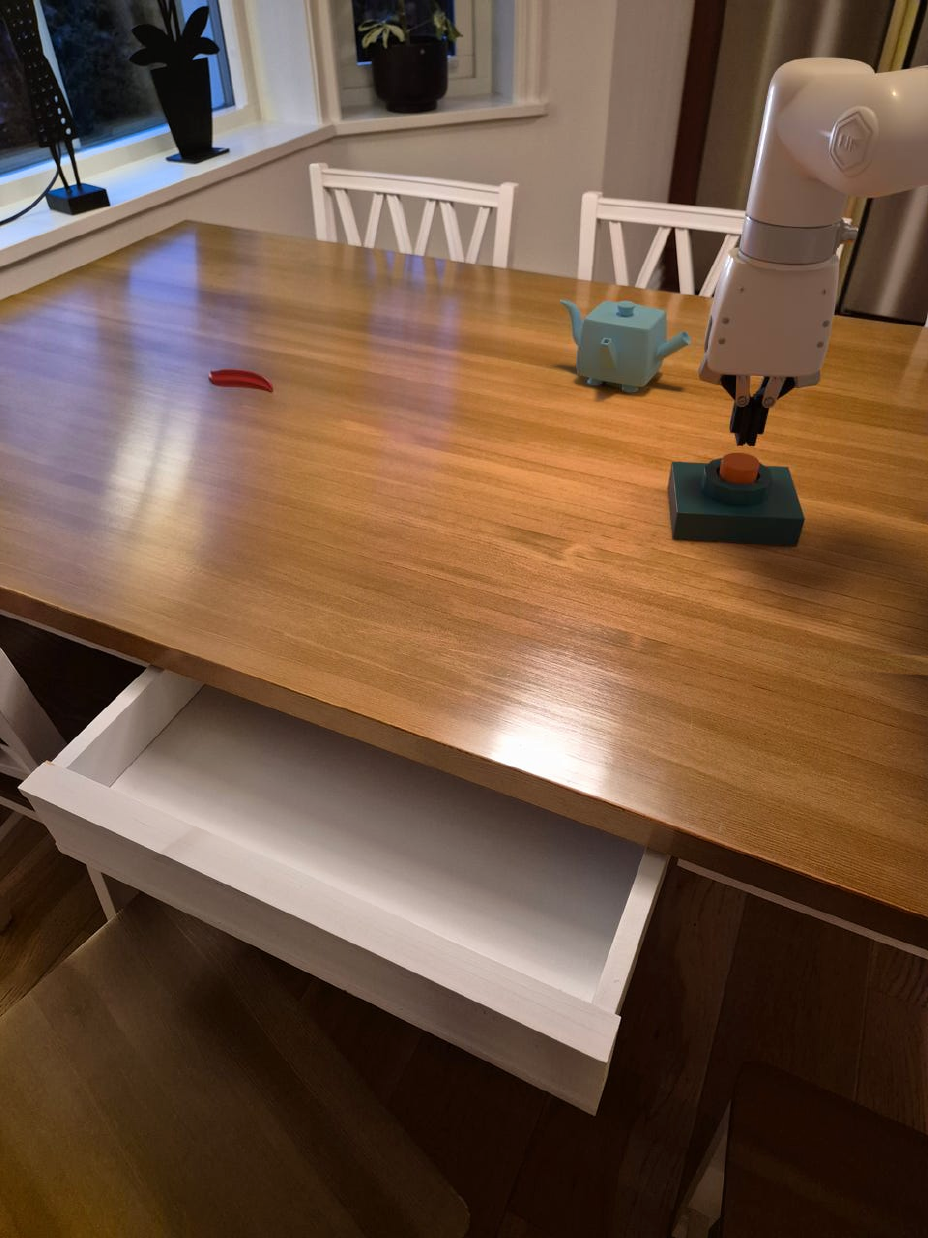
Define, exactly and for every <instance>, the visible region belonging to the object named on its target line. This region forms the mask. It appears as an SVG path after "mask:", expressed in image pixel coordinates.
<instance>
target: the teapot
mask: <svg viewBox="0 0 928 1238" xmlns="http://www.w3.org/2000/svg"><path fill="white" fill-rule="evenodd" d="M559 303H560V304H562V305H563V306H564V307H565V308H566V309H567V312H568V314H569V317H570V327H571V334H572V338H573V341H574V343H575V344H576V345H577V351H576V360H575V366H576V372H577V375H579V376H582V377H585V378H589V379H588V380H587V384H588V385H590V386H593V387H594V386H601V385H602V384H603V383H604V382H608V383H613V384H620V385H621V386H622V387H621V389H622V391H623V392H625V393H637V392H638V391H639V388H641V387H642V388H643V387H645V386H647V384H648V383H649V382H650V381H651V380H652V379H653V378H654V377H655V375H656V374H657V373H658V372H659V370H660V369H661V367H662V365H663V363H664V360H665V359H666V358H668V357H670V356H671V355H673V354H675V353H676V352H678V351H680V350H682V349H684V348H685V347H687V346H690V345H691V344H692V340H691V336H690V335H689V334H688V332H687V331H685V330H682V331H680V332H679V333H677V334H676V335H674V336H672V337H671V338H669V339H668V340H667V337H668V335H667V334H668V327H667V326H668V325H667V324H668V323H667V321H668V320H667V311H666V310H665V309H661V308H655V307H650V306H645V305H641V304H638V303H635V302H633V301H630V300H621V301H606V300H604V301H602V302H601V303H600V304H599V305H597V306H595V308H594V309H593V310H592V311H590V312H589V313H588V314H587V315H586V316H585V317H584V319H583V320H582V316H581V312H580V309H579V307H578V306H577V304H575V302H573V301H572V300H571V301H570V300H568V299H559Z"/></svg>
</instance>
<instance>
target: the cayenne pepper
mask: <svg viewBox="0 0 928 1238" xmlns="http://www.w3.org/2000/svg"><path fill="white" fill-rule="evenodd" d="M208 380H209V382H210V383H211V384H213V385H215V386H217V387H242V388H251V389H258V390H263V391H267V392H270V393H273V392H274V386H273V384H272V382H271V381H270V380H268V379H267V378H265V377H263V376H262V375H261V374H259V373H258V372H257V373H256V372H254V371H249V370H244V369H237V368H236V369H235V368H224V369H218V370H212V369H210V372H208Z"/></svg>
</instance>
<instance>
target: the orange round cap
mask: <svg viewBox="0 0 928 1238" xmlns="http://www.w3.org/2000/svg"><path fill="white" fill-rule="evenodd" d="M721 458H722V461H721V466H720V472H719V476H720V477H721V478H722V479H723V480H725V481H728V482H731V483H734V484H749V483H753V482H755V481H756V478H757V474H758V469H759V465H760V463H761V462H760V460H759V459H758V458H757V457H755V456H754V455H751V454H750V453H745V452H730V453H727V454H725V455H723V456H722V457H721Z"/></svg>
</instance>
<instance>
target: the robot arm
mask: <svg viewBox="0 0 928 1238" xmlns="http://www.w3.org/2000/svg"><path fill="white" fill-rule="evenodd" d="M760 127H761V128H760V134H759V138H758V142H757V143H758V144H757V150H756V155H755V159H754V160H755V161H754V165H753V170H752V176H751V181H750V185H749V192H748V198H747V203H746V208H745V210H746V211H745V213H744V214H745V215H744V219H743V225H742V230H741V236H740V241H739V246H738V247H733V248H730V249H729V250H728V252H727V255H726V257H725V260H724V262H723V265H722V268H721V271H720V274H719V277H718V280H717V284H716V288H715V290H714V294H713V298H712V302H711V307H710V312H709V315H708V321H707V324H706V330H705V334H704V342H703V350H704V351H703V352H704V353H705V354H704V356H703V358H702V360H701V362H700V364H699V367H698V369H697V374H698V379H699V380H700V381H702V382H705V383H708V384H712V385H714V386H720V387H722V388H723V389H724V390H725V391H726V393H727V394H728V395H729V396H730V397H731V398H732V399H733V405H732V411H731V414H730V415H731V416H730V420H729V433H730V434H734V438H735V443H736V446H737V447H744V446H745V445H746V446H748V447H756V442H757V439H758V435H764V432H765V430H766V429H765V428H766V424H767V420H768V416H769V412H770V408H774V406H775V405H776V403H777V401H778V400H779V399H781V398H783V397H784V396H785V395H786V394H788V393H790V392H791V391H792V390H794V389H801V388H807V387H812V386H816V385H818V384H819V383H820V381H821V369H822V367H823V365H824V362H825V360H826V356H827V352H828V349H829V348H828V347H829V343H830V340H831V334H832V329H833V324H834V318H835V311H836V305H837V298H838V290H839V279H840V278H839V277H840V258H839V255H838V254H837V252H838V249H840V246H841V245H845V244H855V242H856V240H857V238H858V232H859V226H858V225H857V224H849V223H848V222H845V221H844V214H845V210H846V206H847V202H848V198H849V196H851V197H855V198H860V199H875V198H880V197H886V196H891V195H895V194H898V193H903V192H906V191H910V190H913V189H916V188H919V187H923V186H928V64H926V65H919V66H913V67H911V68H906V69H898V70H892V71H885V72H876V73H875V70H874V69H873V68H872V66H871V65H870V64H868V63H866V62H863V61H861V60H856V59H850V58H842V57H805V58H798V59H793V60H790V61H788V62H784V63H783V64H782V65H781V66H779V67H778V68H777V69H776V70H775V72H774V74H773V75H772V77H771V80H770V83H769V86H768V91H767V94H766V100H765V106H764V111H763V117H762V123H761V126H760ZM751 377H762V378H761V380H760V383H759V386H758V388H757V389H758V390H756V391H755V393H753V394H752V396H751V392H750V391H751Z"/></svg>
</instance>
